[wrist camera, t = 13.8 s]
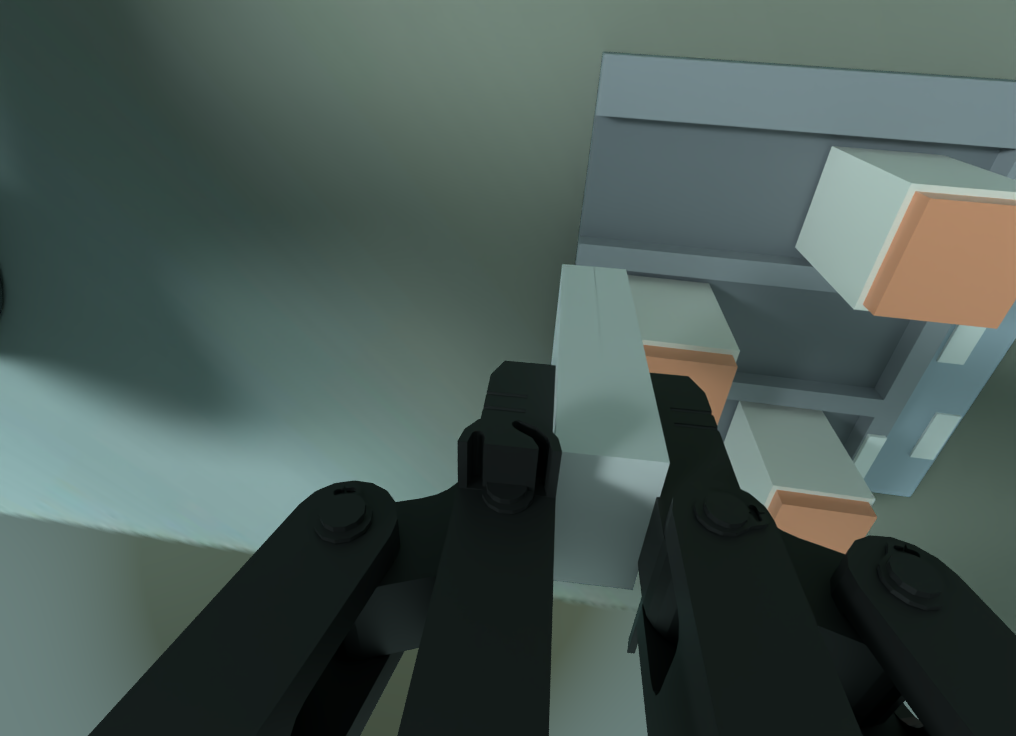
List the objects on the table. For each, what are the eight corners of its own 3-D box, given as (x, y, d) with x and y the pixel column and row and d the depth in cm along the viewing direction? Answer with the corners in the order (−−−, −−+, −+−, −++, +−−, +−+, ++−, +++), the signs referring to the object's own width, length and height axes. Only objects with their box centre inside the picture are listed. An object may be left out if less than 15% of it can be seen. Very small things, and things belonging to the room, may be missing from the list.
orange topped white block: (717, 459, 29) (748, 564, 23) (739, 400, 26) (778, 499, 21) (793, 469, 28) (843, 578, 23) (821, 410, 26) (885, 514, 20)
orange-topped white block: (605, 349, 26) (608, 437, 20) (618, 273, 24) (626, 348, 18) (687, 359, 26) (713, 451, 20) (708, 283, 24) (745, 362, 18)
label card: (854, 486, 31) (857, 491, 31) (1084, 84, 20) (1093, 85, 19) (907, 493, 31) (911, 499, 30) (1172, 90, 19) (1183, 92, 19)
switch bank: (550, 445, 33) (547, 481, 30) (602, 51, 21) (604, 54, 19) (818, 481, 31) (839, 523, 29) (1027, 80, 20) (1094, 88, 17)
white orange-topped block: (795, 247, 22) (864, 320, 16) (831, 146, 20) (926, 190, 14) (894, 256, 22) (1000, 335, 16) (943, 155, 20) (1085, 204, 14)
